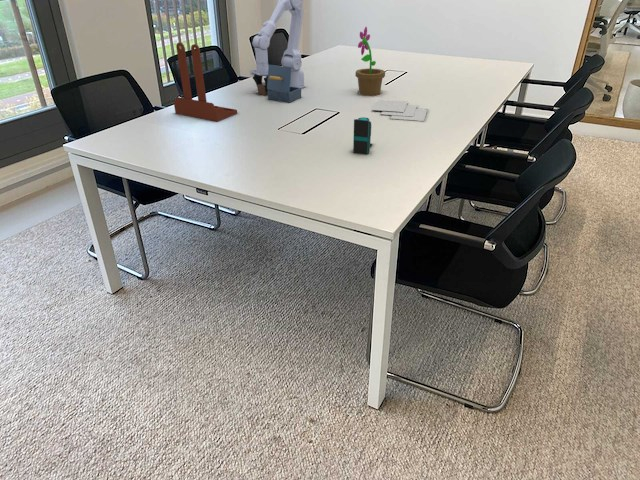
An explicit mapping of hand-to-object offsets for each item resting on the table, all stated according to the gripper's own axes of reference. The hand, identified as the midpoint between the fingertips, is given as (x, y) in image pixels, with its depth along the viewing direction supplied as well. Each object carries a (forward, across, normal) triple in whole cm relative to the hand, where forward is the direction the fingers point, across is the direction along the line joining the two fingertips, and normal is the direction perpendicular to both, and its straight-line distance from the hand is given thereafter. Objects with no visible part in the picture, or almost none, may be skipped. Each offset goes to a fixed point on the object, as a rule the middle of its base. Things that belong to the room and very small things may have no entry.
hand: (264, 91), depth 244 cm
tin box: (+1, +14, -2) cm, 14 cm away
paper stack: (+1, +70, +5) cm, 70 cm away
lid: (-9, +14, -6) cm, 17 cm away
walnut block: (+1, 0, 0) cm, 1 cm away
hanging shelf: (+2, -4, -39) cm, 39 cm away
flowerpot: (+2, +45, +26) cm, 52 cm away
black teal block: (+2, +76, -44) cm, 88 cm away
